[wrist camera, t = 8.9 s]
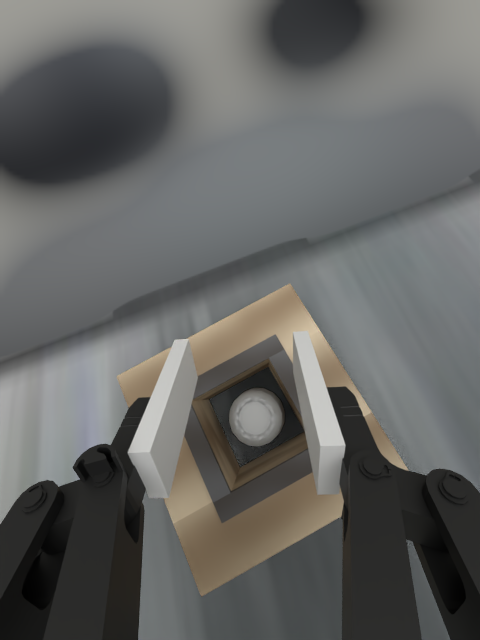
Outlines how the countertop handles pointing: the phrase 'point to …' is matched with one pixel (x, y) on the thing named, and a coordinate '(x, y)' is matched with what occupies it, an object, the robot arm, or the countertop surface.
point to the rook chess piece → (257, 417)
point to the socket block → (218, 458)
